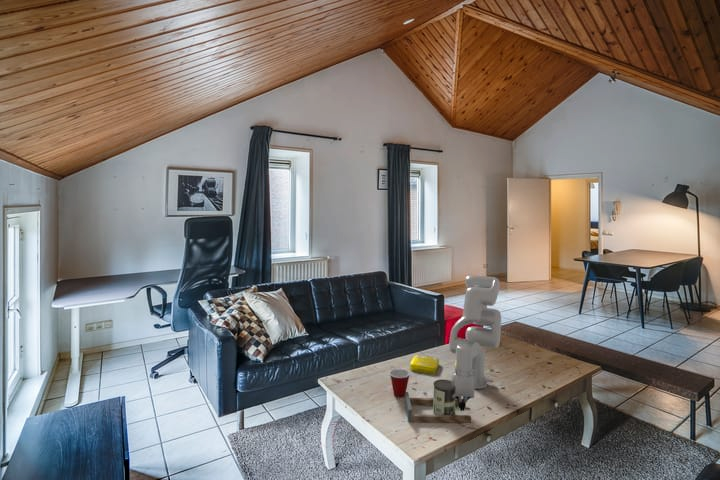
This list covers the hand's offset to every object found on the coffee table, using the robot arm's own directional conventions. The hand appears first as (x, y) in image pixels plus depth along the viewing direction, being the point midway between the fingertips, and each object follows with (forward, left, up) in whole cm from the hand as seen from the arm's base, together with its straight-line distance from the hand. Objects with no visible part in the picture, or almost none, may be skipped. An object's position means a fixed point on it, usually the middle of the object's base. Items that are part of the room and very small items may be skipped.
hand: (461, 409), depth 180 cm
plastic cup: (+28, -17, -3) cm, 33 cm away
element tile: (+10, -50, -3) cm, 51 cm away
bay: (+12, 0, -2) cm, 12 cm away
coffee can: (+8, 0, -2) cm, 9 cm away
